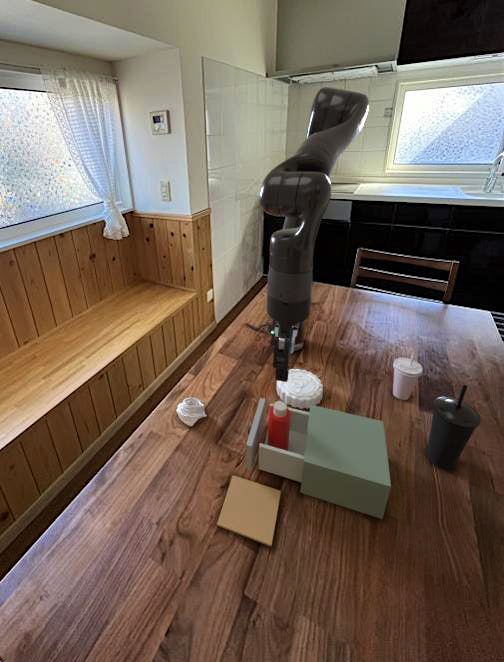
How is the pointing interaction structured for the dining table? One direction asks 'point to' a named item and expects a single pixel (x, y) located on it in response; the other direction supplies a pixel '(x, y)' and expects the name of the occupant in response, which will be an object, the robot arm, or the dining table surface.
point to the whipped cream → (190, 411)
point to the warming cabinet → (346, 461)
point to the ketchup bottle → (279, 426)
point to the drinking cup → (451, 429)
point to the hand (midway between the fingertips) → (284, 365)
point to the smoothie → (405, 376)
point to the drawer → (276, 458)
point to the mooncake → (300, 389)
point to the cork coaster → (250, 510)
